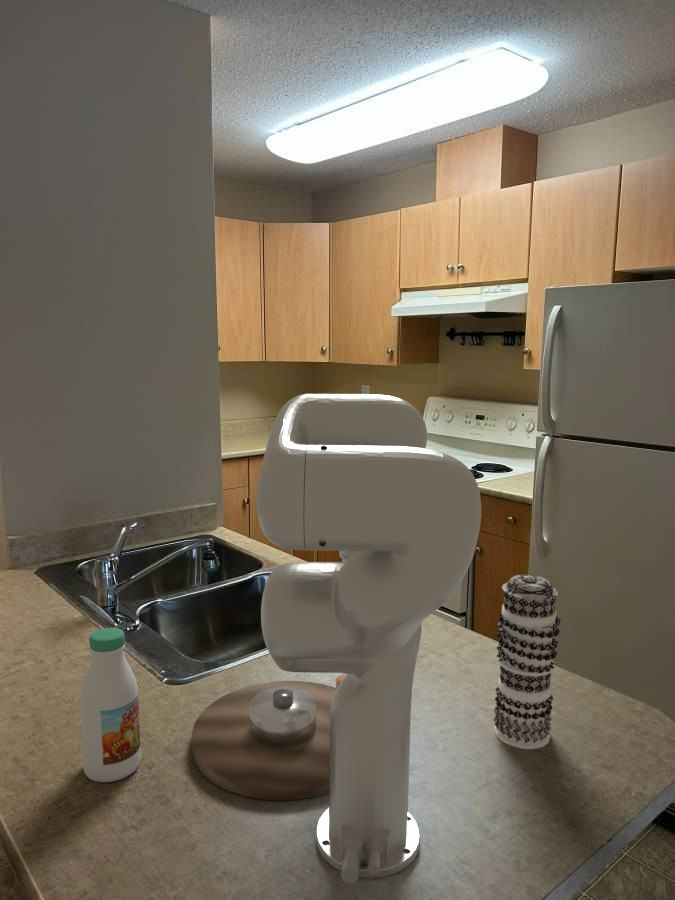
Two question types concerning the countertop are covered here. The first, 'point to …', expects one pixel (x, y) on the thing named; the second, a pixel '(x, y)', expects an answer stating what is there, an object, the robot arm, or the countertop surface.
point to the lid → (282, 717)
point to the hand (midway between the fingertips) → (362, 661)
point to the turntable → (263, 748)
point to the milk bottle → (109, 710)
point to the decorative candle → (526, 662)
